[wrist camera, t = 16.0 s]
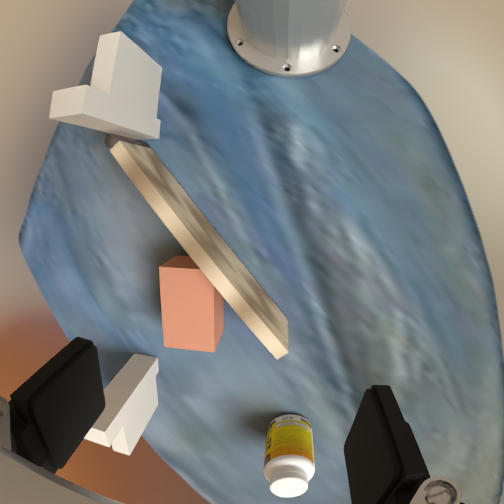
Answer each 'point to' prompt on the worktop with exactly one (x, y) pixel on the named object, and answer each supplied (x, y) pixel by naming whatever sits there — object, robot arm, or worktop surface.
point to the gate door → (202, 242)
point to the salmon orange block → (189, 306)
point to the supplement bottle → (289, 455)
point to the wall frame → (134, 127)
